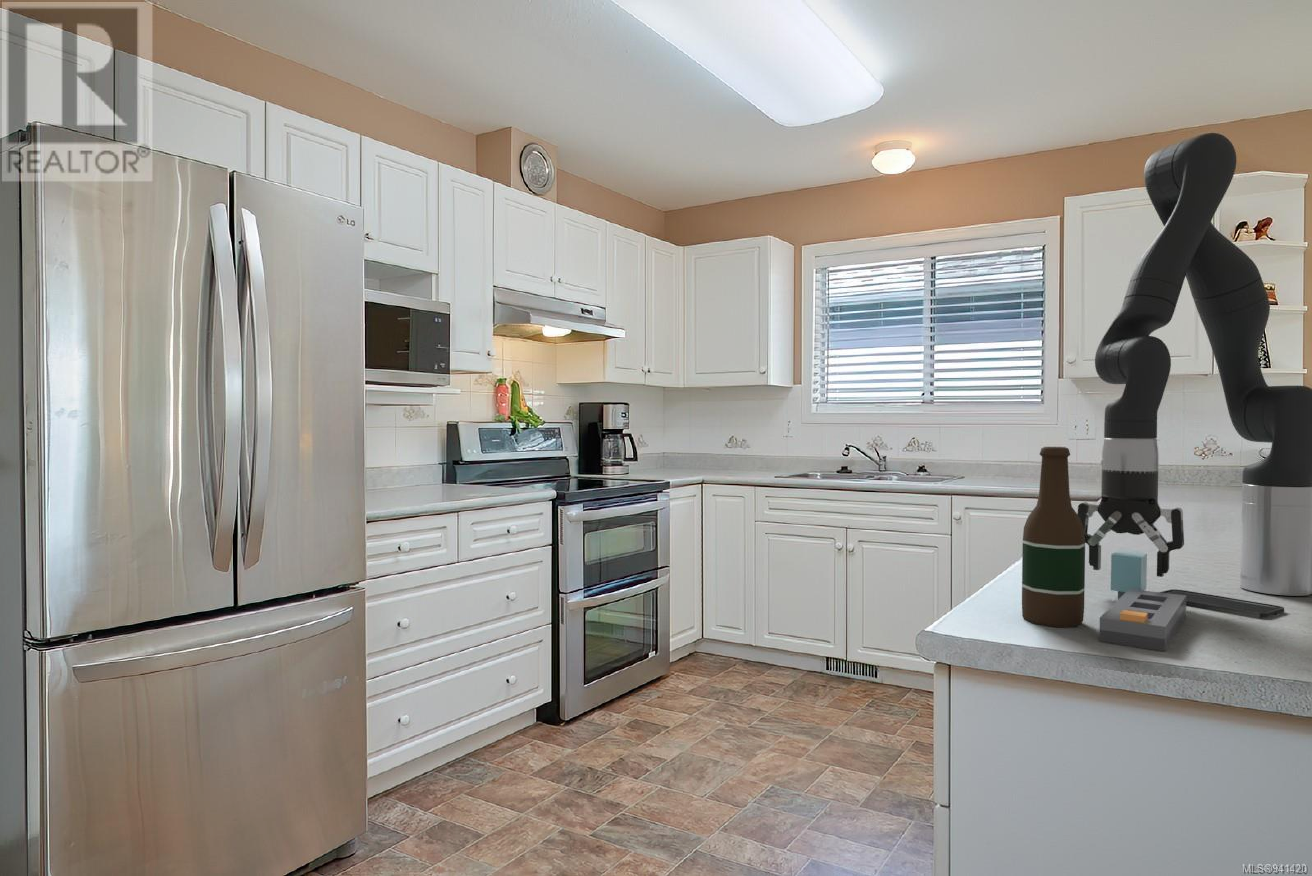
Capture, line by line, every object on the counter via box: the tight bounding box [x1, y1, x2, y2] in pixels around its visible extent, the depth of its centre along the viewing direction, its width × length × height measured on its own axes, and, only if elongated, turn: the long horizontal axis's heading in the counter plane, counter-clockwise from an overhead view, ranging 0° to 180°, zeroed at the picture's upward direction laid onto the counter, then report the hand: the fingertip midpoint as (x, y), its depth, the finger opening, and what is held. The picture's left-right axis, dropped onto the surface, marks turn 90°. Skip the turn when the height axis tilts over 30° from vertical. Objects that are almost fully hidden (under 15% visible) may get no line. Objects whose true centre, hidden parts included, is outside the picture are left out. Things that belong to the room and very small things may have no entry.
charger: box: [1110, 550, 1148, 600], centre depth 124 cm, size 5×4×7 cm
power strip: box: [1098, 589, 1187, 652], centre depth 107 cm, size 22×7×4 cm, turn 141°
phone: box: [1160, 588, 1285, 620], centre depth 121 cm, size 8×1×15 cm
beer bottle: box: [1021, 446, 1086, 628], centre depth 111 cm, size 8×8×24 cm
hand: (1127, 572), depth 124 cm, fingers open, 8 cm apart
